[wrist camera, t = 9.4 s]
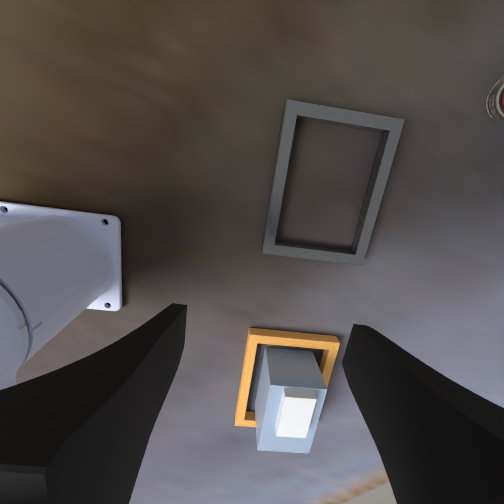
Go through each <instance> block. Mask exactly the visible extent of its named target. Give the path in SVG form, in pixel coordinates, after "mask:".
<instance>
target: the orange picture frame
mask: <svg viewBox="0 0 504 504" xmlns="http://www.w3.org/2000/svg"><path fill="white" fill-rule="evenodd" d="M257 343H261V344H272V345H283V346H294V347H305V348H316V349H324V351H323V355H322V358H321V362H320V366H319V369H320V372H321V375H322V377H323V380H324V382H325V385H326V387H328V383H329V380H330V376H331V373H332V369H333V366H334V362H335V359H336V356H337V352H338V349H339V345H340V342H339V340H338V339H337V337H336V336H330V335H320V334H310V333H299V332H289V331H279V330H268V329H258V328H249V332H248V338H247V345H246V351H245V357H244V364H243V370H242V376H241V383H240V389H239V395H238V402H237V408H236V414H235V426H248V427H256V418H255V412H252V411H246V406H247V400H248V394H249V389H250V383H251V377H252V371H253V366H254V360H255V354H256V348H257Z"/></svg>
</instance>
